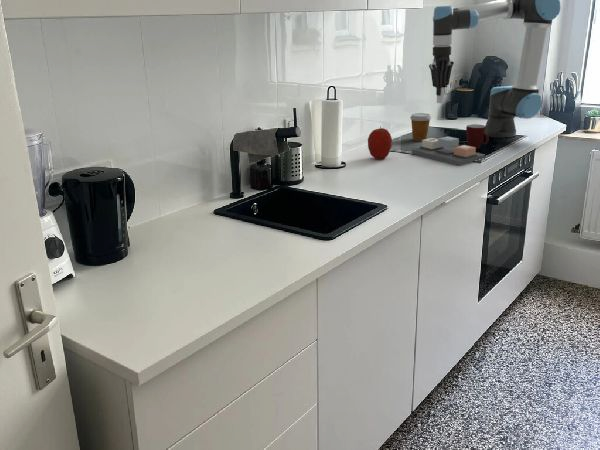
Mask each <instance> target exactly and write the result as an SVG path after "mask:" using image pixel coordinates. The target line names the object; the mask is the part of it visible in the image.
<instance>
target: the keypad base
mask: <svg viewBox="0 0 600 450" xmlns="http://www.w3.org/2000/svg"><path fill="white" fill-rule="evenodd" d="M411 155H413V156H414V155H416V156H418V157H423V158H425V159H431V160H435V161H439V162H442V163H445V164H450V165H454V166H458V167H459V166H462V165H467V164H471V163H474V162H473V161H475V160H479V159H482V158H485V159H486V154H484V153H480V152H475V155H472V156H467V157H463V156H459V155H455V154H454V147H451V148H447V147H440V148H435V149H430V148H426V147H422V145H421V146H419V147H418V148H412V149H411Z"/></svg>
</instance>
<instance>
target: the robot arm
mask: <svg viewBox="0 0 600 450" xmlns="http://www.w3.org/2000/svg"><path fill="white" fill-rule="evenodd" d="M561 6H562V4H561V0H493V1H488V2H481V3H477V4H476V3H475V4H471V5H470V4H469V5H465V6H461V7H455V8H454V6H452V5H441V6H440V5H439V6H436V7H435V8H433V17H432V22H433V27H432V28H433V29H432V35H433V36H432V46H433V47H432V56H433V57H434V58H433V60H432V63H430V64H429V65H428V68H429V70H430V75H431V82H432V84H431V85H432V87H434V88H436V90H435V91H436V92H435V93H436V94H435V95H436V104H444V103H445V94H446V88H448V86H449V84H450V81H451V74H452V71H453V70H452V69H453V67H454V63H455V62H454V61H452V60H451V59H450V58H451V57H450V56H451V55H452V46H451V45H452V43H453V42H452V41H453V37H452V36H453V31H454V30H455V31H456V30H466V29H467V30H470V29H473V28H476V27H477V25H478V23H479V22H480V23H481V22H486V21H487V22H488V21H492V20H496V19H503V20H510V19H516V20H517V19H518V20H523V22H522V23H523V25H524V26H525V33H524V37H523V44H522V49H521V56H520V59H519V60H520V62H519V65H518V66H519V68H518V72H517V78H516V83H515V84H513V85H507V86H506V85H505V86H496V87H495V86H494V87H492V88H491V90H490V94H489V108H488V118H487V121H486V123H485V124H484V126H486V127H485V133H486V134H488V136H489V138H502V139H504V138H505V137H507V138H513V136H514V137H516V135H517V129H516V123H515V118H519V119H527V120H528V119H532V118H534V117H535V116H536V115H537V114H539V113H540V112H541V109H542V107H543V99H542V96H541V95H540V94H539V92H540V88H539V86H538V84H537V83H538V78H539V74H540V68H541V61H542V57H543V52H544V45H545V42H546V41H545V40H546V36H547V30H548V28H549V27H551V26H552V23H553V20H554V19H556V18H557V16H558V15H560V12H561V10H562V9H561V8H562V7H561Z"/></svg>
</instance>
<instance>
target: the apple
mask: <svg viewBox="0 0 600 450" xmlns="http://www.w3.org/2000/svg"><path fill="white" fill-rule="evenodd" d="M392 141H393V138H392V136H391V133H390V132H389V130H388V129H386V128H384V127H383V128H382V127H381V126H379V128H376V129H373V130H372V131H371V132H370V133H369V135H368V138H367V148H368V152H369V153H370V156H371V157H372V158H374V159H376V160H385V159H386V158H387V157H388V156H389V154H390V151H391V149H392V143H393V142H392Z"/></svg>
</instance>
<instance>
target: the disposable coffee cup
mask: <svg viewBox="0 0 600 450" xmlns="http://www.w3.org/2000/svg"><path fill="white" fill-rule="evenodd" d="M431 119H432V117H431V114H430V113H423V112H417V113H416V112H415V113H411V115H410V120H411V131H412V132H411V133H412V141H414V142H422V140H424V139H428V133H429V127H430V121H431Z"/></svg>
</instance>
